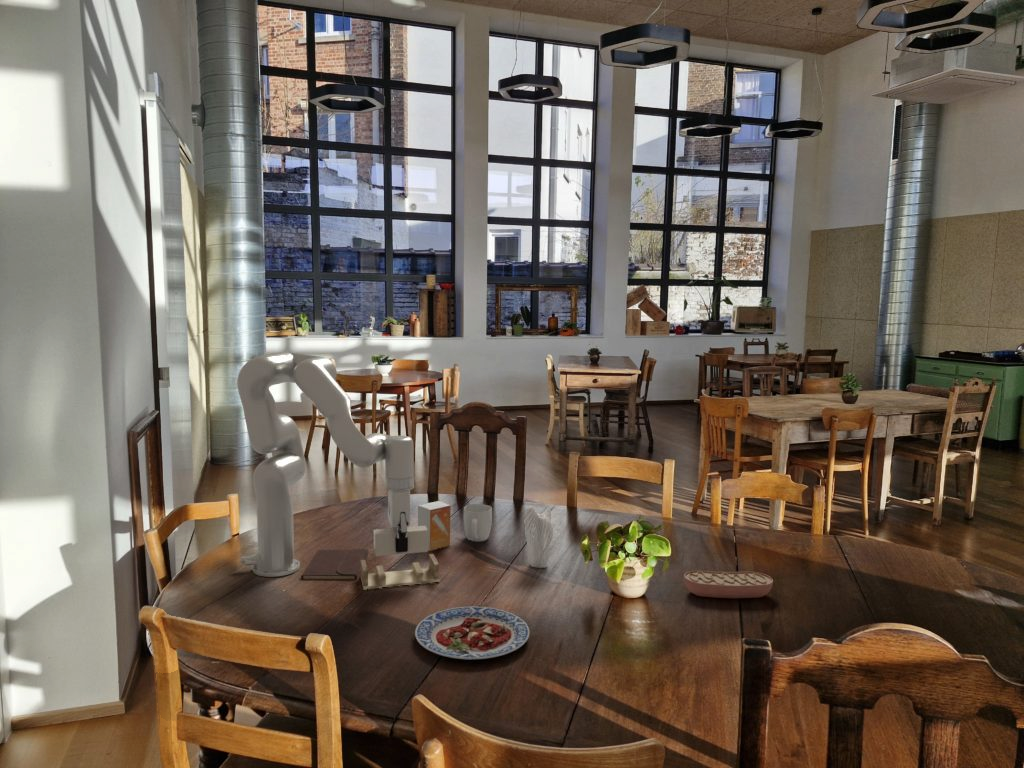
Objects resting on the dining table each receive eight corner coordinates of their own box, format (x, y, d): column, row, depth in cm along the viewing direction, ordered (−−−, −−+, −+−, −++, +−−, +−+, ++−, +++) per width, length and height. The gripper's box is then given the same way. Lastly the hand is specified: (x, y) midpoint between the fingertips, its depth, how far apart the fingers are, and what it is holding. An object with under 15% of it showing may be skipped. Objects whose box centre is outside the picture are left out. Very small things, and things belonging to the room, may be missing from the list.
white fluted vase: (553, 561, 217) (554, 501, 215) (552, 571, 209) (553, 509, 207) (525, 559, 218) (526, 499, 216) (522, 569, 210) (524, 508, 208)
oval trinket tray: (765, 589, 200) (766, 571, 199) (778, 605, 190) (779, 586, 190) (679, 587, 200) (680, 570, 199) (688, 603, 190) (689, 584, 190)
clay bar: (375, 556, 196) (375, 534, 196) (373, 551, 200) (373, 529, 199) (427, 551, 200) (427, 530, 200) (425, 546, 204) (425, 525, 203)
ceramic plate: (468, 605, 186) (468, 594, 186) (551, 637, 170) (552, 624, 170) (391, 641, 167) (391, 629, 166) (476, 681, 150) (477, 667, 150)
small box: (429, 551, 223) (430, 509, 221) (417, 546, 228) (417, 505, 226) (450, 545, 229) (451, 504, 227) (437, 540, 233) (438, 500, 232)
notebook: (301, 580, 201) (300, 573, 201) (317, 554, 220) (317, 548, 220) (356, 581, 201) (356, 573, 201) (368, 555, 221) (368, 548, 221)
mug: (465, 533, 241) (466, 503, 240) (493, 534, 240) (493, 504, 239) (459, 546, 228) (459, 515, 227) (488, 548, 227) (488, 516, 226)
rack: (363, 589, 194) (363, 571, 194) (360, 577, 203) (360, 559, 202) (439, 582, 200) (439, 564, 199) (432, 570, 208) (433, 553, 208)
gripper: (381, 475, 205) (382, 540, 207) (389, 491, 189) (390, 561, 191) (408, 474, 207) (409, 537, 209) (419, 489, 191) (419, 558, 193)
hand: (400, 548), depth 200 cm, fingers closed on clay bar, 4 cm apart
